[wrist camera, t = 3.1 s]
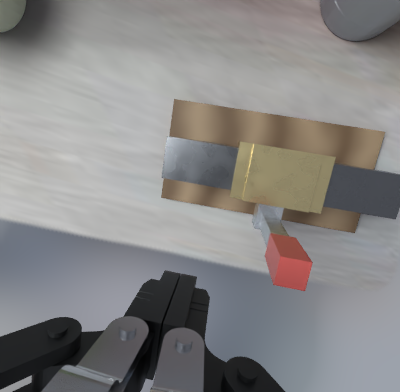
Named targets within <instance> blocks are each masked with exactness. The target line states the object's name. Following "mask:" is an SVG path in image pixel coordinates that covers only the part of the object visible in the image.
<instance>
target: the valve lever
mask: <svg viewBox="0 0 400 392" xmlns="http://www.w3.org/2000/svg"><path fill="white" fill-rule="evenodd" d="M283 209H284V208H281V207H275V206H270V205H264V204H258V203H256V205H255V210H254V215H253V219H252V223H253V226H254V228H255V229H260V230H261V233H262V236H263V239H264V241H265V244H266V247H267V249H266V253H265V258H266V262H267V265H268V268H269V272H270V275H271V278H272V281H273V285H277V286H282V287H287V288H292V289H297V290H302V291H305V289H306V285H307V281H308V278H309V274H310V270H311V267H312V263H313V262H312V261H311V259H310V258H309V257H308V255H307V254H306V252H305V251H304V249H303V248H302V246H301V245H300V243H299V242H298V240H297V239H296V238H294V237H289V235H288V234H287V232H286V230H285V229H284V227H283V226H282V224H281V218H282V214H283Z"/></svg>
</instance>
